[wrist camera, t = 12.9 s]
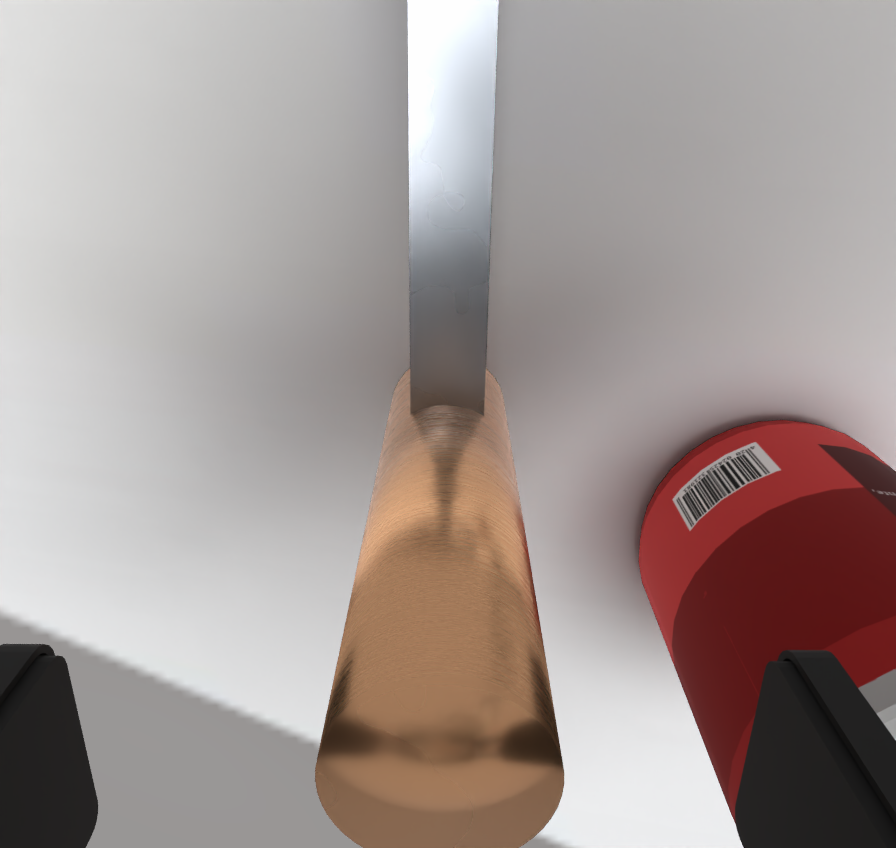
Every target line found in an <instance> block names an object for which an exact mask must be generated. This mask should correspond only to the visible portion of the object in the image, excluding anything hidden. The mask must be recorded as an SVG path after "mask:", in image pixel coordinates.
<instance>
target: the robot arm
mask: <svg viewBox="0 0 896 848" xmlns="http://www.w3.org/2000/svg"><path fill="white" fill-rule="evenodd" d="M97 814H98V800H97V796H96V791H95V788H94V783H93V779H92V774H91V769H90V765H89V760H88V756H87V751H86V747H85V742H84V738H83V734H82V729H81V725H80V720H79V716H78V711H77V708H76V703H75V698H74V694H73V689H72V685H71V680H70V676H69V671H68V667H67V663H66V661H65V659H64V658H63V657H62V656H55V654H54V651H53V649H52V648H51V647H50V646H49V645H45V644H3V645H0V848H86V846H87V844H88V842H89V840H90V837H91V835H92V833H93V830H94V828H95V825H96V821H97ZM735 820H736V827H737V831H738V834H739V837H740V840H741V842H742V845H743V847H744V848H896V740H895V739H894V738H893V736H892V735H891V733H890V732H889V731H888V729H887V728H886V726H885V725H884V724H883V722H882V721H881V719H880V718H879V717H878V715H877V714H876V712H875V711H874V710H873V708H872V707H871V705H870V704H869V703H868V701H867V700H866V698H865V697H864V696H863V694H862V693H861V691H860V690H859V689H858V687H857V686H856V684H855V683H854V682H853V680H852V679H851V677H850V676H849V675H848V673H847V672H846V670H845V669H844V668H843V666H842V665H841V663H840V662H839V661H838V659H837V658H836V657H835V656H834V655H833V654H832V653H831V652H829V651H827V650H785V651H782V652H781V653H780V655H779V657H778V660H777V661H770V662H768V664H767V665H766V668H765V671H764V676H763V681H762V685H761V690H760V694H759V699H758V703H757V708H756V713H755V717H754V722H753V726H752V731H751V735H750V740H749V745H748V749H747V754H746V758H745V763H744V767H743V772H742V777H741V781H740V786H739V790H738V795H737V799H736V804H735Z"/></svg>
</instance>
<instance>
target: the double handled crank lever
mask: <svg viewBox="0 0 896 848" xmlns="http://www.w3.org/2000/svg"><path fill="white" fill-rule="evenodd" d="M498 5H499V0H408V117H409V269H410V369H408V370H407V371H406V372H405V374H404V375H403V376H402V377H401V379H400V380H399V382H398V384H397V386H396V387H395V390H394V393H393V397H392V402H391V407H390V412H389V417H388V421H387V426H386V431H385V436H384V441H383V445H382V450H381V455H380V460H379V465H378V469H377V474H376V479H375V484H374V489H373V494H372V498H371V503H370V508H369V513H368V518H367V522H366V527H365V532H364V537H363V542H362V546H361V551H360V556H359V561H358V566H357V570H356V575H355V580H354V585H353V590H352V594H351V599H350V604H349V609H348V614H347V618H346V623H345V628H344V633H343V638H342V642H341V647H340V652H339V657H338V662H337V666H336V671H335V676H334V681H333V686H332V690H331V695H330V700H329V705H328V710H327V714H326V719H325V724H324V729H323V734H322V738H321V743H320V748H319V753H318V758H317V763H316V768H315V769H316V770H315V782H316V788H317V793H318V796H319V799H320V801H321V804H322V806H323V808H324V810H325V811H326V813H327V815H328V816H329V817H330V819H331V820H332V821H333V823H334V824H335V825H336V826H337V827H338V828H339V829H340V830H341V831H342V832H343V833H344V834H345V835H346V836H347V837H349V838H350V839H351V840H352V841H354V842H355V843H357V844H358V845H360V846H361V847H363V848H519V847H521V846H522V845H524V844H525V843H527V842H528V841H529V840H531V839H532V838H533V837H535V836H536V835H537V834H538V833H539V832H540V831H541V830H542V829H543V828H544V827H545V825H546V824H547V823H548V822H549V820H550V819H551V818H552V816H553V814H554V813H555V811H556V809H557V807H558V805H559V802H560V799H561V797H562V792H563V787H564V769H563V762H562V756H561V750H560V744H559V738H558V732H557V726H556V719H555V713H554V707H553V701H552V695H551V689H550V683H549V676H548V670H547V664H546V658H545V652H544V646H543V639H542V633H541V627H540V621H539V615H538V609H537V603H536V596H535V590H534V584H533V578H532V572H531V566H530V559H529V553H528V547H527V541H526V535H525V529H524V523H523V516H522V510H521V504H520V498H519V492H518V486H517V480H516V473H515V467H514V461H513V455H512V449H511V443H510V436H509V430H508V424H507V418H506V412H505V406H504V400H503V395H502V391H501V389H500V386H499V384H498V382H497V381H496V379H495V378H494V376H493V375H492V374H491V373H490V372H489V371H488V370H487V369H486V347H487V318H488V290H489V261H490V233H491V204H492V176H493V147H494V119H495V90H496V62H497V33H498Z"/></svg>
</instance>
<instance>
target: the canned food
mask: <svg viewBox="0 0 896 848" xmlns="http://www.w3.org/2000/svg"><path fill="white" fill-rule="evenodd" d="M639 567H640V573H641V579H642V583H643V586H644V588H645V591H646V593H647V596H648V599H649V601H650V604H651V606H652V609H653V612H654V614H655V617H656V619H657V622H658V625H659V627H660V630H661V632H662V635H663V638H664V640H665V643H666V645H667V648H668V651H669V653H670V656H671V658H672V661H673V664H674V666H675V669H676V671H677V674H678V677H679V679H680V682H681V684H682V687H683V690H684V692H685V695H686V697H687V700H688V703H689V705H690V708H691V710H692V713H693V716H694V718H695V721H696V723H697V726H698V729H699V731H700V734H701V736H702V739H703V742H704V744H705V747H706V749H707V752H708V755H709V757H710V760H711V762H712V765H713V768H714V770H715V773H716V775H717V778H718V781H719V783H720V786H721V788H722V791H723V794H724V796H725V799H726V801H727V804H728V807H729V809H730V812H731V814H732V817H733V819H734V821H735V824H736V820H735V804H736V799H737V795H738V790H739V786H740V781H741V777H742V772H743V767H744V763H745V758H746V754H747V749H748V745H749V740H750V735H751V731H752V726H753V722H754V717H755V713H756V708H757V703H758V699H759V694H760V690H761V685H762V681H763V676H764V671H765V668H766V665H767V664H768V662H770V661H777V660H778V657H779V655H780V653H781V652H782V651H785V650H827V651H829V652H831V653H832V654H833V655H834V656H835V657H836V658H837V659H838V661H839V662H840V663H841V665H842V666H843V668H844V669H845V670H846V672H847V673H848V675H849V676H850V677H851V679H852V680H853V682H854V683H855V684H856V686H857V687H858V689H859V690H860V691H861V693H862V694H863V696H864V697H865V698H866V700H867V701H868V703H869V704H870V705H871V707H872V708H873V710H874V711H875V712H876V714H877V715H878V717H879V718H880V719H881V721H882V722H883V724H884V725H885V726H886V728H887V729H888V731H889V732H890V733H891V735H892V736H893V738H894V739H895V740H896V472H895V471H894V470H893V469H892V468H891V467H889V466H888V465H887V464H886V463H885V462H883V461H882V460H881V459H880V458H878V457H877V456H876V455H875V454H874V453H872V452H871V451H870V450H869V449H868V448H866V447H865V446H864V445H862V444H861V443H859V442H857V441H856V440H854V439H852V438H851V437H849V436H847V435H846V434H844V433H841V432H838V431H835V430H832V429H829V428H826V427H823V426H819V425H815V424H810V423H805V422H797V421H788V420H774V421H760V422H755V423H751V424H747V425H743V426H739V427H735V428H732V429H730V430H728V431H726V432H723V433H721V434H719V435H717V436H714V437H712V438H710V439H709V440H707V441H705V442H704V443H702V444H701V445H699V446H698V447H696V448H695V449H693V450H692V451H690V452H689V453H688V454H687V455H686V456H685V457H684V458H682V459H681V460H680V461H679V462H678V463H677V464H676V465H675V466H674V467H673V468H672V469H671V470H670V471H669V473H668V474H667V475H666V476H665V478H664V479H663V480H662V482H661V483H660V484H659V485H658V487H657V489H656V491H655V493H654V495H653V497H652V498H651V500H650V502H649V504H648V506H647V509H646V513H645V516H644V520H643V523H642V527H641V536H640V548H639Z"/></svg>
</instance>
